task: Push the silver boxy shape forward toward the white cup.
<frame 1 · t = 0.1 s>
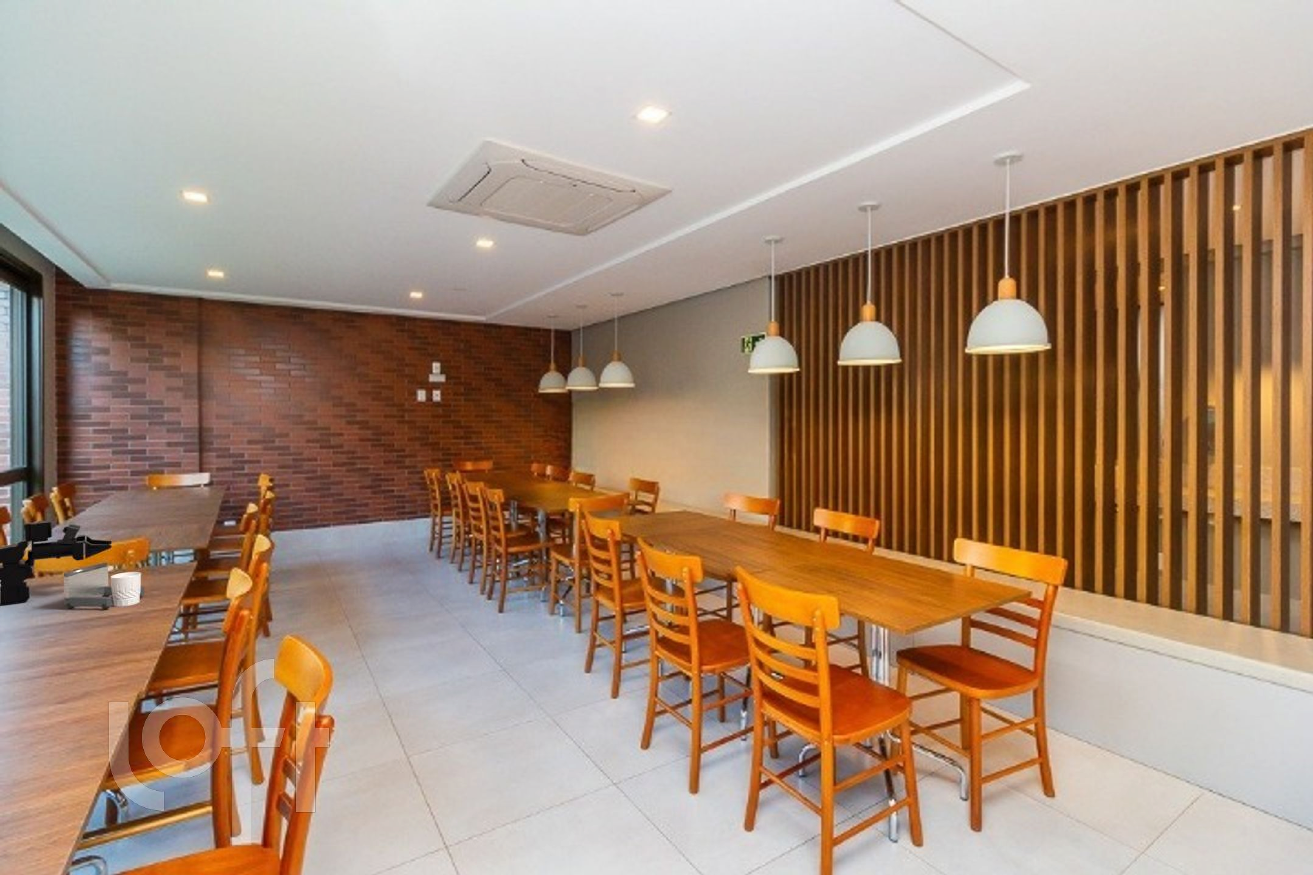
hand: (111, 544, 229), 17 cm above the table, tool horizontal, fingers open, 9 cm apart
white cup: (126, 604, 211), on the table
silver boxy shape: (105, 585, 211), point 6 cm above the table, slide at 0.0 cm
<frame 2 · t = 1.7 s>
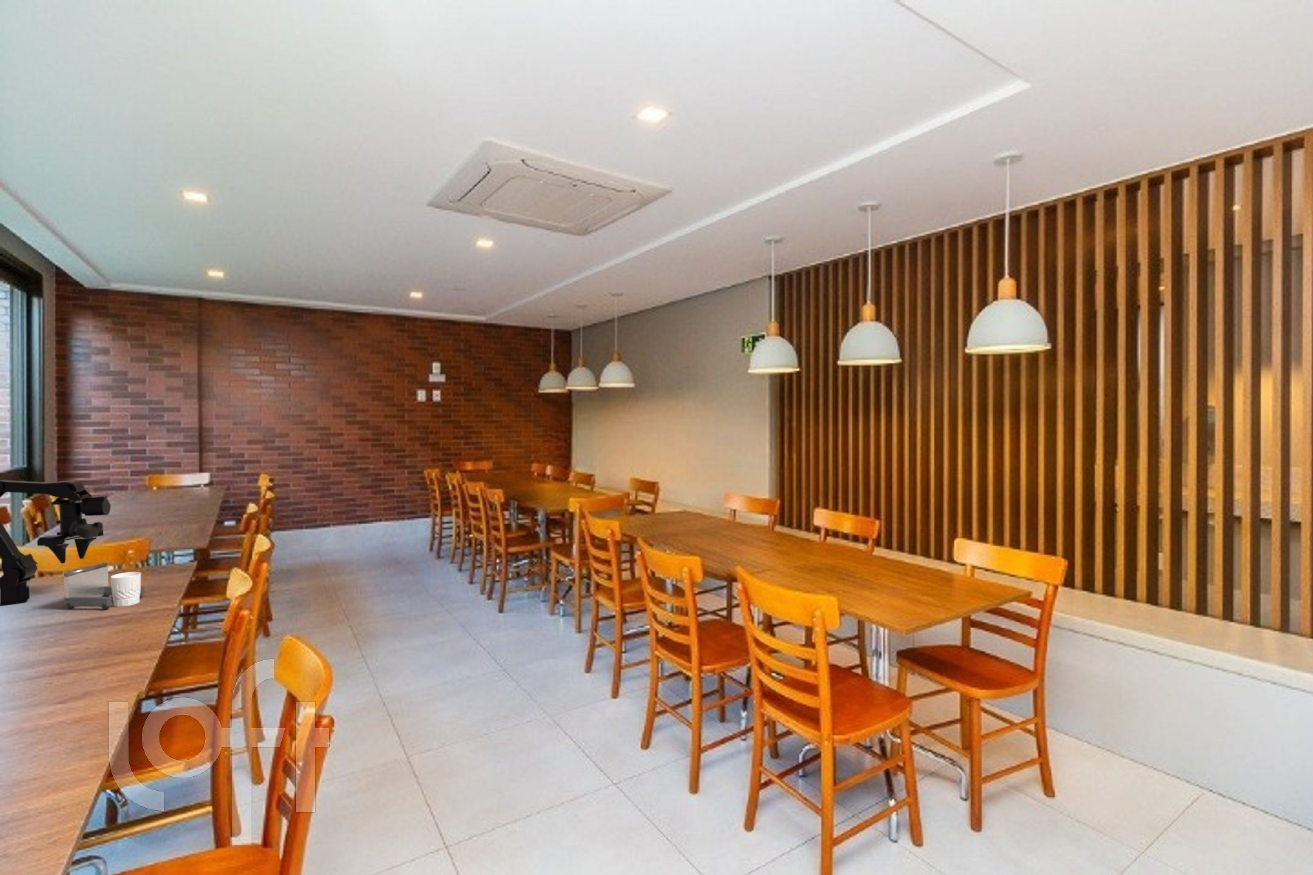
hand: (72, 560, 217), 13 cm above the table, tool pointing down, fingers open, 6 cm apart
nothing on the table moved.
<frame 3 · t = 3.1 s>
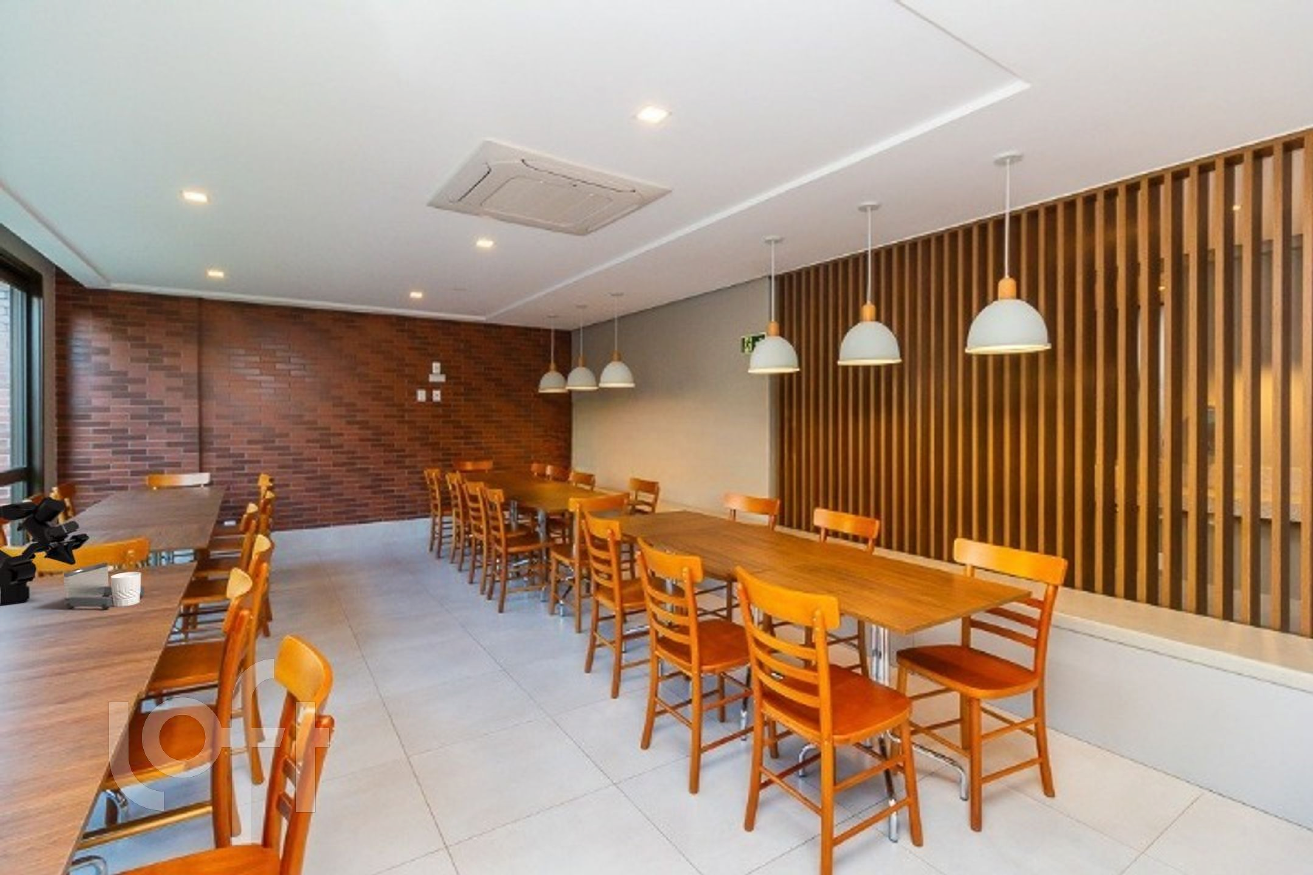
hand: (73, 563, 212), 13 cm above the table, tool tilted 45°, fingers closed
nothing on the table moved.
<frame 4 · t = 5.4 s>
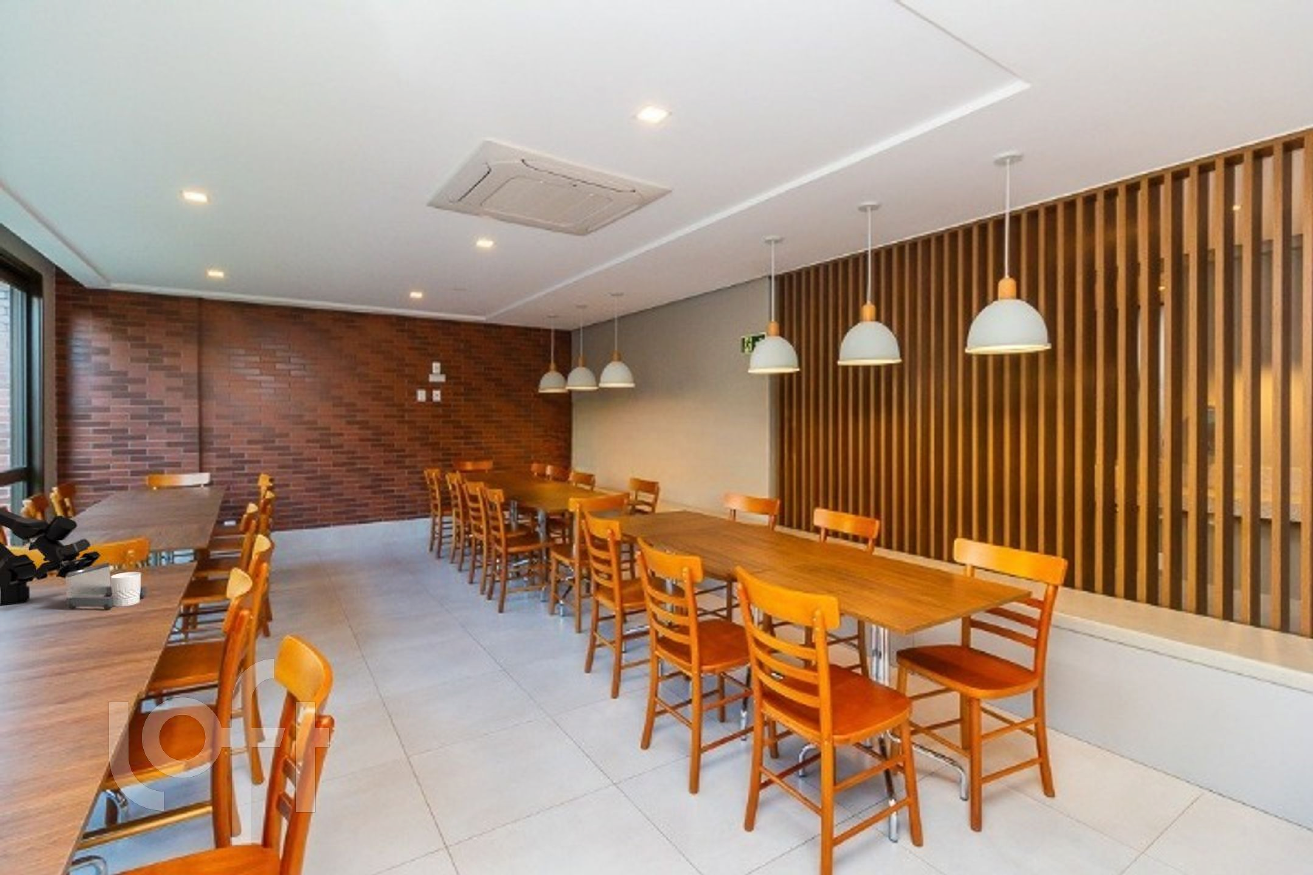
hand: (85, 582, 211), 7 cm above the table, tool tilted 45°, fingers closed, pressing on silver boxy shape
silver boxy shape: (107, 585, 211), point 6 cm above the table, slide at 0.7 cm, touching gripper
everything else where it was.
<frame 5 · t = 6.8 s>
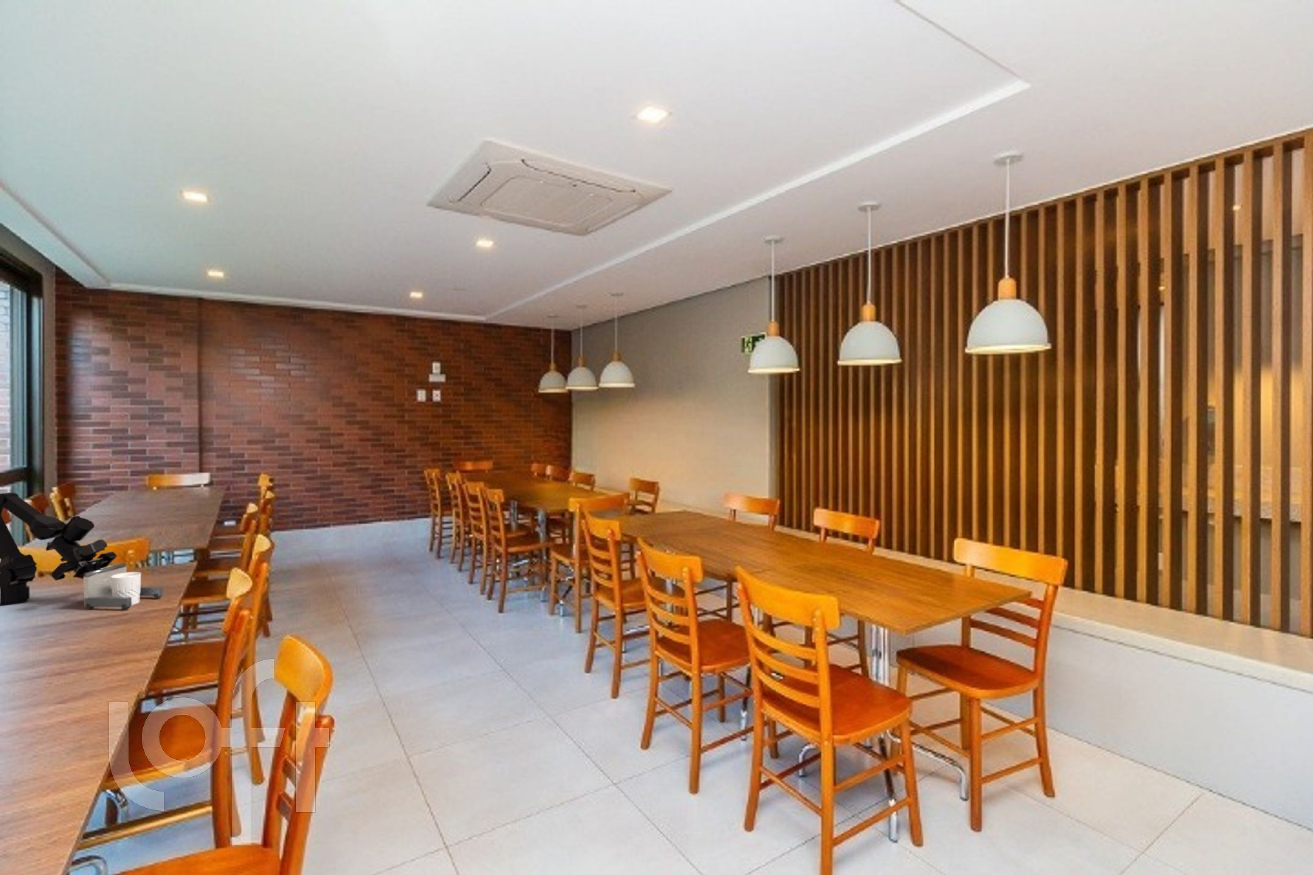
hand: (102, 582, 211), 7 cm above the table, tool tilted 45°, fingers closed
silver boxy shape: (124, 585, 211), point 6 cm above the table, slide at 6.7 cm
everything else where it was.
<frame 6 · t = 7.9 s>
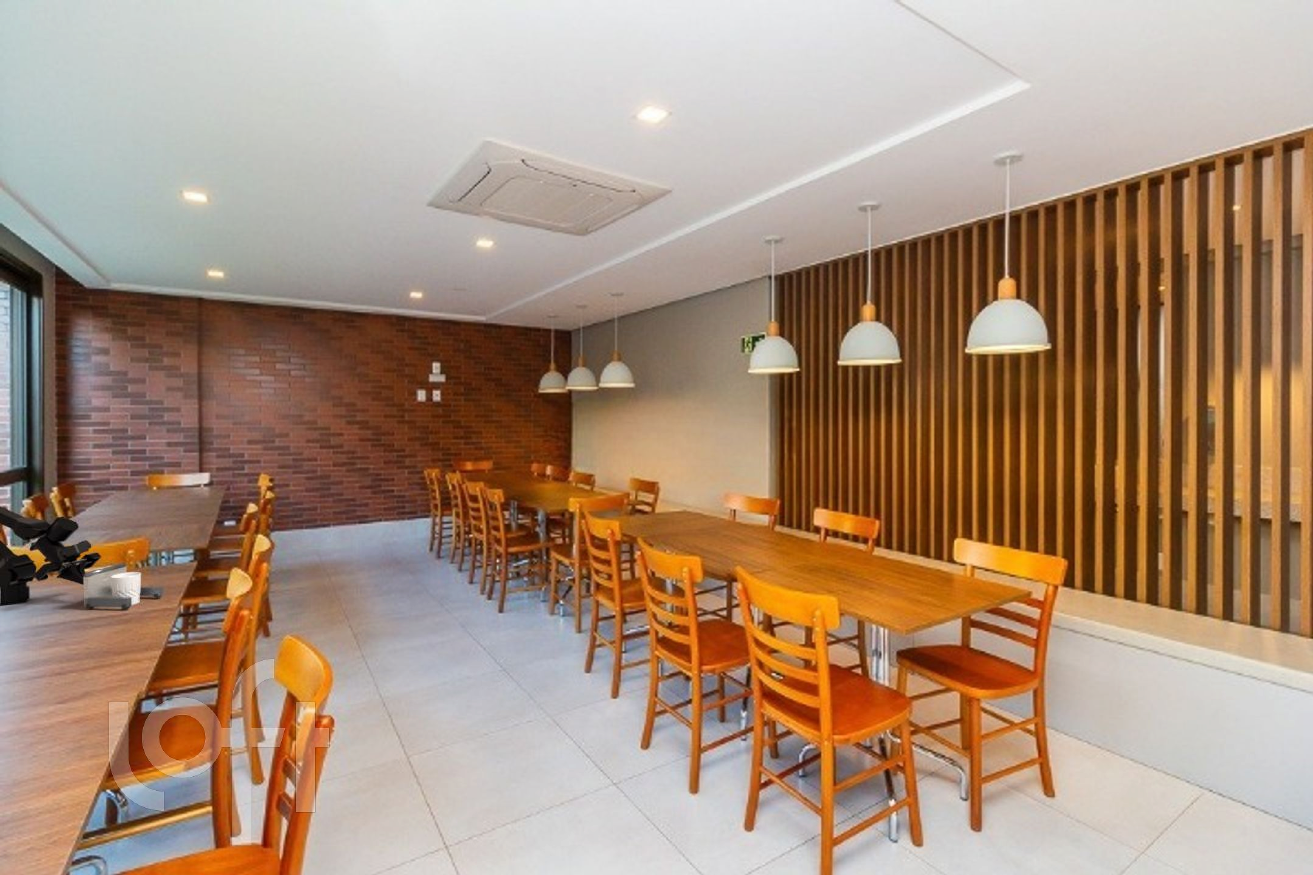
hand: (86, 583, 211), 7 cm above the table, tool tilted 45°, fingers closed
nothing on the table moved.
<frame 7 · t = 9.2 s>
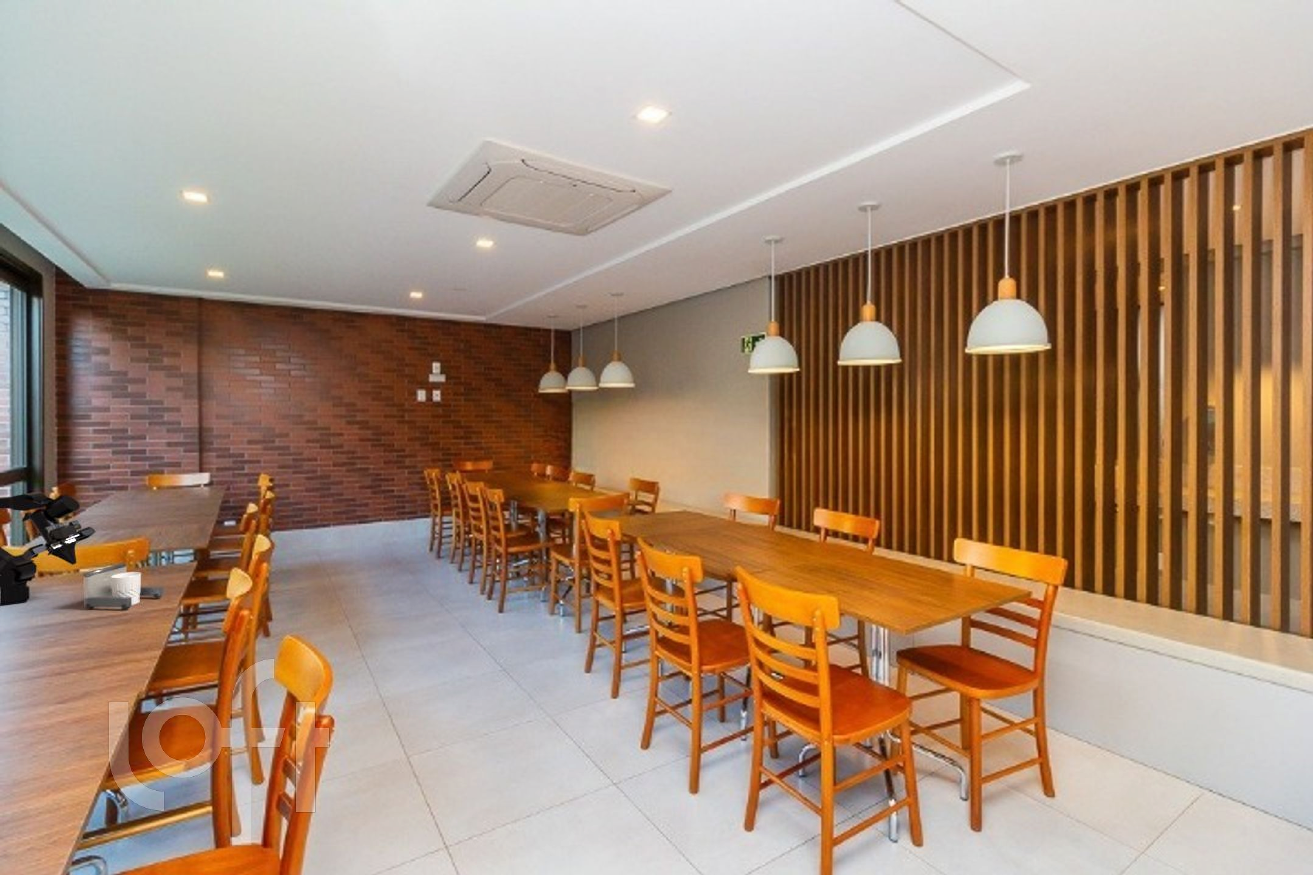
hand: (74, 563, 215), 13 cm above the table, tool tilted 30°, fingers closed
nothing on the table moved.
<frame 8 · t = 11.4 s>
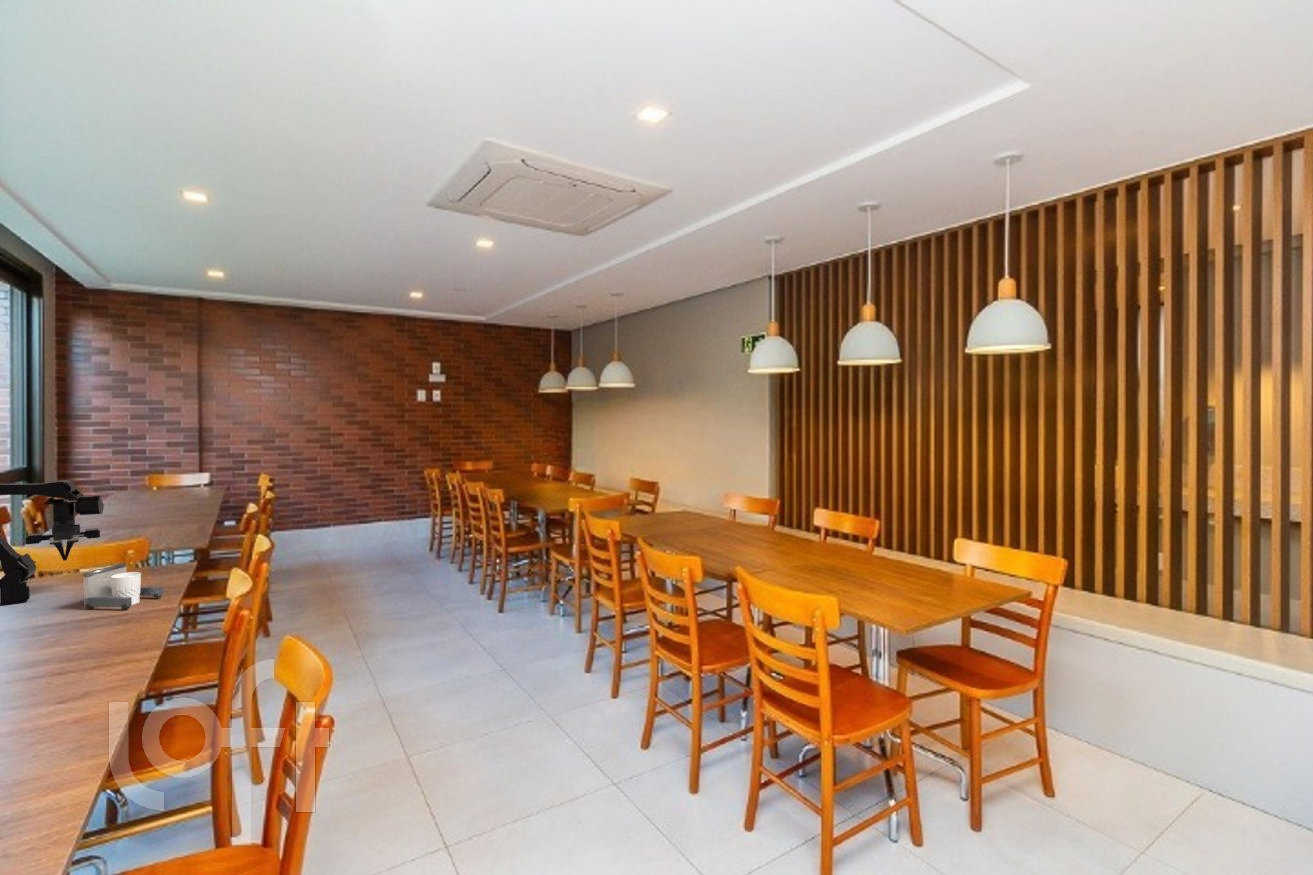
hand: (65, 560, 218), 13 cm above the table, tool pointing down, fingers closed
nothing on the table moved.
at the end: white cup 0.8 cm from the silver boxy shape (horizontally); silver boxy shape slide at 6.7 cm; white cup tilted 0° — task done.
